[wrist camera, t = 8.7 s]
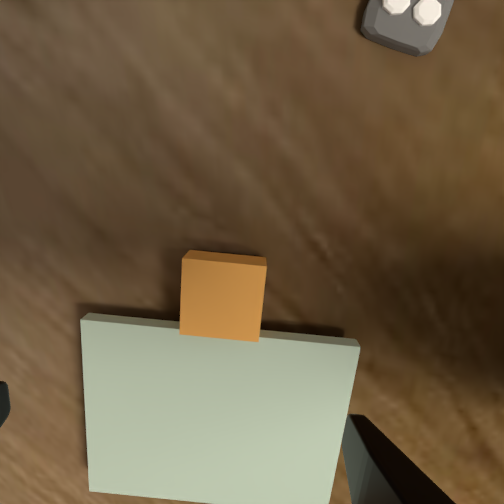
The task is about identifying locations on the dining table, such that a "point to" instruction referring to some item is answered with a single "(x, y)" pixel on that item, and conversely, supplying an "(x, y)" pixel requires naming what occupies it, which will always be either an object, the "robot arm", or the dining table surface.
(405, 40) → the key chain
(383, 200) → the dining table surface
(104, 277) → the dining table surface
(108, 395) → the lid
